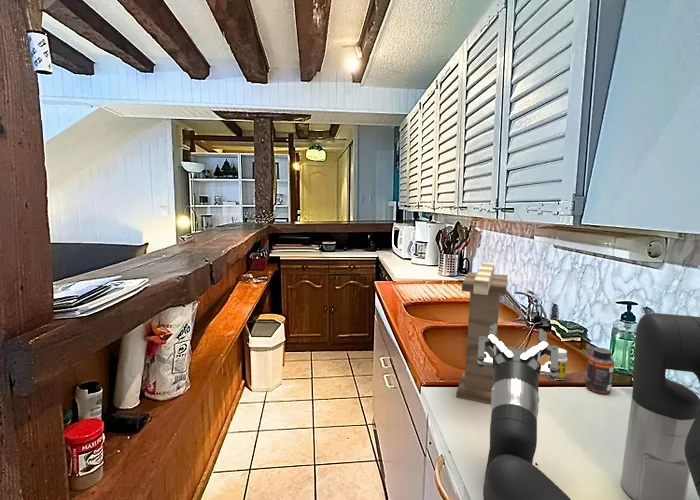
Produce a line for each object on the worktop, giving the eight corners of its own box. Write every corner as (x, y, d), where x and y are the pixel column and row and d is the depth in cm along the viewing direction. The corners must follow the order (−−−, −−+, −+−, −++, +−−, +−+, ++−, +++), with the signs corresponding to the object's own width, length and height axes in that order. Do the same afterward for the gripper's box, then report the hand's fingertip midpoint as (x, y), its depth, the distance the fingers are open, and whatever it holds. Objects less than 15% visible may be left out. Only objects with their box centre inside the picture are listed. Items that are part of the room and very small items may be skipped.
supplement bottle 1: (548, 380, 114) (551, 352, 113) (545, 372, 118) (548, 345, 117) (567, 382, 113) (570, 354, 111) (563, 375, 117) (566, 348, 116)
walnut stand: (496, 409, 98) (506, 287, 94) (455, 400, 102) (462, 283, 97) (499, 384, 111) (507, 275, 106) (462, 377, 115) (468, 272, 110)
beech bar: (487, 295, 87) (488, 281, 86) (473, 293, 88) (474, 280, 87) (493, 274, 108) (494, 263, 107) (482, 273, 109) (482, 262, 108)
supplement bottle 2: (616, 395, 106) (621, 354, 104) (593, 394, 106) (598, 354, 104) (602, 384, 112) (607, 345, 110) (581, 383, 112) (585, 345, 110)
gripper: (472, 399, 74) (481, 336, 87) (557, 416, 69) (554, 346, 81) (472, 373, 70) (481, 310, 82) (563, 389, 65) (558, 319, 77)
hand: (517, 328), depth 82 cm, fingers open, 8 cm apart
